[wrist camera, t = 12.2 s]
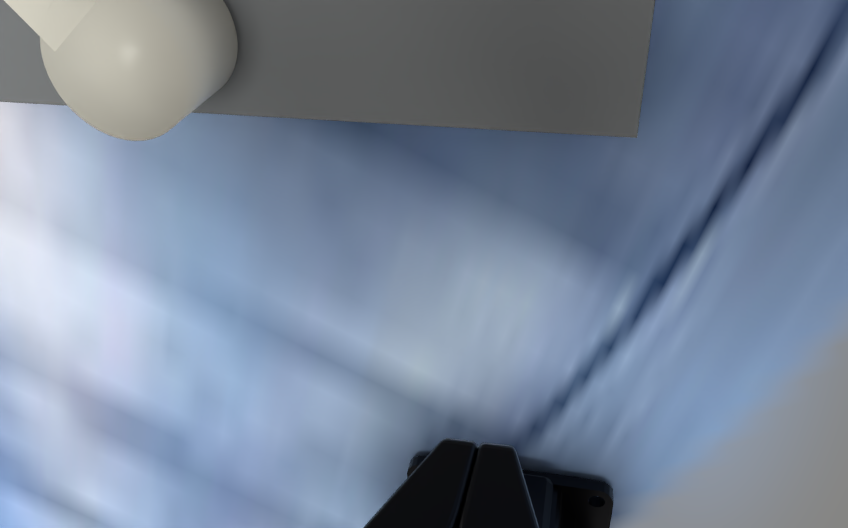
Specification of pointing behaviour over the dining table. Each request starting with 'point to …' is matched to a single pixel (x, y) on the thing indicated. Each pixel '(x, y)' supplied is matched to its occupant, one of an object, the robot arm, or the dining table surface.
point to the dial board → (413, 63)
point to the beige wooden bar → (133, 58)
